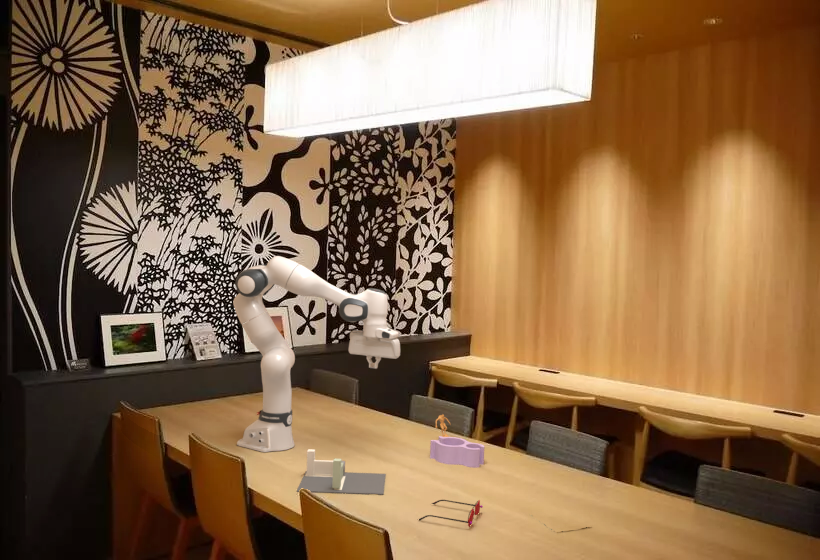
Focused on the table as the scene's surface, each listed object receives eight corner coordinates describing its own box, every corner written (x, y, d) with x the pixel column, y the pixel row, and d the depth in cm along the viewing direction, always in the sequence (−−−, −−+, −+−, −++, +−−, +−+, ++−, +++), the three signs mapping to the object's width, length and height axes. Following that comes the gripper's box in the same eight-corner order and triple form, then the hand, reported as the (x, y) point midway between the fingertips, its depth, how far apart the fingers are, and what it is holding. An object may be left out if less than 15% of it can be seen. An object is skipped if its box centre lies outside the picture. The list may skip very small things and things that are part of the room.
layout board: (296, 491, 217) (296, 490, 217) (305, 471, 236) (305, 470, 236) (383, 495, 217) (383, 493, 217) (385, 474, 236) (385, 473, 236)
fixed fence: (338, 475, 233) (338, 450, 232) (337, 478, 230) (338, 452, 230) (307, 474, 233) (308, 449, 232) (306, 477, 230) (307, 451, 230)
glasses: (471, 532, 192) (471, 515, 192) (416, 522, 198) (417, 505, 197) (482, 514, 205) (483, 498, 205) (431, 505, 211) (431, 489, 210)
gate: (338, 473, 233) (339, 447, 232) (345, 473, 233) (346, 448, 232) (332, 488, 218) (333, 460, 218) (339, 488, 218) (340, 461, 218)
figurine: (441, 447, 270) (442, 417, 270) (430, 443, 275) (431, 414, 274) (455, 443, 276) (456, 415, 275) (445, 440, 280) (446, 412, 280)
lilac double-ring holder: (488, 461, 255) (489, 443, 255) (474, 470, 244) (475, 452, 244) (441, 451, 265) (442, 434, 265) (426, 460, 254) (427, 442, 254)
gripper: (346, 330, 254) (344, 366, 255) (396, 334, 247) (394, 372, 248) (353, 328, 260) (352, 363, 261) (402, 333, 253) (401, 369, 254)
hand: (373, 368), depth 254 cm, fingers closed
